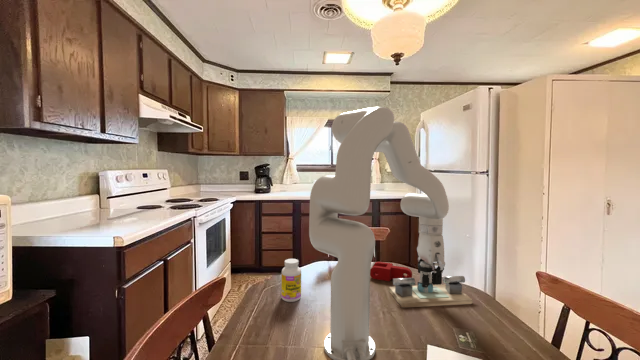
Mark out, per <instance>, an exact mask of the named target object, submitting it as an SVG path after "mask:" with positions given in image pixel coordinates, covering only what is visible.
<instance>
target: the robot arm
mask: <svg viewBox="0 0 640 360" xmlns="http://www.w3.org/2000/svg"><path fill="white" fill-rule="evenodd" d="M331 130H332V131H331V132H332V136H333V137H334V139H335V140H336V141H337V142H338V143H340V145H339V147H338V151H337V153H336V161H335V172H334V174H335V175H334V174H332V175H331V174H328V175H322V176H320V177H319V178H317V179H316V181H315V182H314V183H313V186H312V187H311V190H310V196H309V219H308V220H309V223H308V224H309V225H308V226H309V227H308V236H309V241H310V243H311V245H312V247H313V249H315V250H316V251H319V252H321V253H323V254H327V255H330V256H332V257H335V258H337V263H336V265H335V266H334V268H333V269H332V272H331V276H330V326H329V327H330V332H329V334H327V336H326V337H325V338H324V342H323V348H324V349H323V350H324V352H325V354H326V355H327V356H328V357H329V358H330V359H331V360H372V359H373V357H374V356H375V354H376V343H375V341H374V340H373V337H371V336H370V312H371V311H370V308H371V303H370V302H371V297H370V296H371V292H370V291H371V276H370V271H371V268H372V261H373V256H374V252H375V246H376V238H375V233H374V232H373V230H372V229H371V228H370V227H369V226H368V225H366V224H365V223H364V222H363V223H362V222H359V221H355V220H351V219H345V218H340V217H338V214H339V215H345V216H361V215H364V214H365V213H366V212H368V209H369V207H370V203H371V202H370V201H371V187H372V185H371V183H372V165H373V164H372V163H373V157H374V154H375V153H382V154H383V156H384V157H385V159H386V162H387V164H388V167H389V169H390V172H391V174H392V176H393V177H394V178H395V179H396V180H398V181H400V182H402V183H405V184H406V185H409V186H410V187H411V186H412V187H413V188H416V189H417V190H420V191H421V193H419V192H418V193H416V192H410V193H406V194H405V195H404V196H403V197H402V198H401V200H400V210H401V211H402V213H404V214H406V215H407V216H411V217H416V218H418V234H419V235H418V241H417V246H416V251H417V254H416V255H417V265H418V264H419V263H420V262H421V261H425V262H427V263H428V264H430V265H431V266H432V269H433V272H431V282H432V285H443V284H442V283H443V272H444V270H445V267H446V262H445V243H444V235H443V227H444V226H443V223H444V222H443V221H444V218H445V217H447V215H448V213H449V209H450V206H449V199H448V195H447V192H446V189H445V187H444V184H443V183H442V181H441V180H440V179H439V178H438V176H436V175H435V174H433V173H432V172H431V171H430V170H429V169H428V168H426V167H424V166H423V165H422V164H421V162H420V159H419V155H418V153H417V151H416V148H415V145H414V142H413V139H412V137H411V134H410V131H409V128H408V127H407V125H406V124H405V123H403V122H401V121H395V115H394V112H393V111H392V109H390V108H388V107H386V106H373V107H366V108H362V109H357V110H353V111H352V110H351V111H347V112H343V113H340V114H338V115H337V116H335V118H334V120H333V121H332V125H331ZM417 272H418V273H419V274H420V270H419V267H418V266H417ZM422 274H423V272H422Z"/></svg>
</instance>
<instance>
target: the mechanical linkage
mask: <svg viewBox="0 0 640 360" xmlns="http://www.w3.org/2000/svg"><path fill="white" fill-rule="evenodd" d="M405 274H406V275H405ZM370 278H371V279H373V280H378V281H385V282H390V281H391V280H393V279H396V278H413V272H412V269H410V268H409V267H406V266H398V265H394V264H393V263H391V262H385V261H376V262H374V264H373V265H372V266H371V271H370Z"/></svg>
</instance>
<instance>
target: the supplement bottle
mask: <svg viewBox="0 0 640 360" xmlns="http://www.w3.org/2000/svg"><path fill="white" fill-rule="evenodd" d="M280 293H281V294H280V295H281V299H282V300H283V301H284V302H287V303H294V302H297V301H299V300H300V299H301V297H302V269H301V268H300V267H299V259H298V258H297V259H296V258H286V259H285V260H284V267H283V268H282V269H281V292H280Z"/></svg>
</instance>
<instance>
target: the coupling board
mask: <svg viewBox="0 0 640 360" xmlns="http://www.w3.org/2000/svg"><path fill="white" fill-rule="evenodd" d="M432 285H433V284H432ZM412 286H413V287H412V296H408V297H401V296H400V295H398V294H397V293H396V292H395V286H388V292H389V293H390V294H391V296H392V297H393V298H394V299H395V301H396V302H397V303H398V304H399V306H400V307H401V308H420V307H436V306H437V307H438V306H439V307H440V306H458V305H473V300H474V299H473V298H471V297H470V296H468V294H466V293H464V292H463V291H462V295H460V294H449V293H448V291H447V290H446V289H445V288H446V283H443V284H439V285H433V287H437V288H433V289H437V291H435V290H434V291H433V292H428V293H426V292H419V291H418V289H417V286H418V285H412Z"/></svg>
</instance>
